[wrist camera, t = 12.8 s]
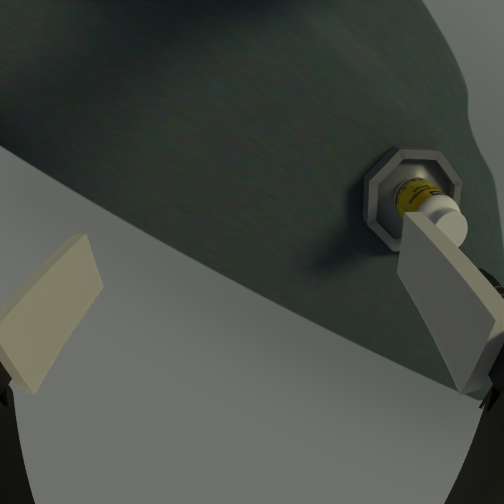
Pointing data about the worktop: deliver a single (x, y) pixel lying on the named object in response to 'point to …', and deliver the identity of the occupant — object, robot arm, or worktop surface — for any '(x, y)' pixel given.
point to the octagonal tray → (392, 175)
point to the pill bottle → (431, 207)
